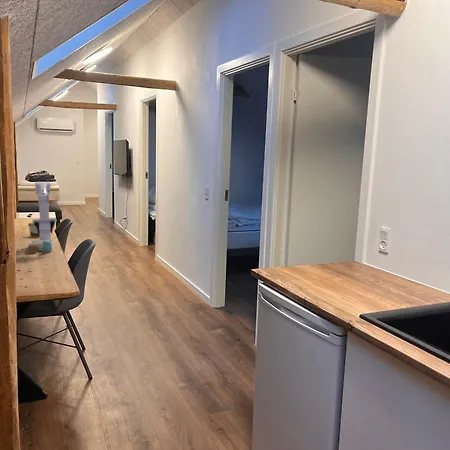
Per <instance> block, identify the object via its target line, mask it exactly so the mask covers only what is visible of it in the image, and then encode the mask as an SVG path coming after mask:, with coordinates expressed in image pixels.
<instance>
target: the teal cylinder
mask: <svg viewBox="0 0 450 450" xmlns="http://www.w3.org/2000/svg"><path fill="white" fill-rule="evenodd" d="M42 253H44V254H49V253H52V251H51V241H43V251H42Z"/></svg>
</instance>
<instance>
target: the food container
mask: <svg viewBox="0 0 450 450" xmlns="http://www.w3.org/2000/svg"><path fill="white" fill-rule="evenodd" d="M27 224H28V225H27V226H28V228H29V234H30V237H35V236H40V234H38V231H37V228H36V226H35V224H34V223H33V222H29V223H27Z"/></svg>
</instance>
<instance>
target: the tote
mask: <svg viewBox="0 0 450 450" xmlns="http://www.w3.org/2000/svg"><path fill="white" fill-rule="evenodd" d="M43 241H51V252H52V251H53V250H54V248H55V239H51V240H40V239H32V240H31V241H30V242H29V243H28V245H29V244H38V252H43Z"/></svg>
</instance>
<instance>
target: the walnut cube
mask: <svg viewBox="0 0 450 450" xmlns="http://www.w3.org/2000/svg"><path fill="white" fill-rule="evenodd" d="M27 249H28V252H27V253H28V254H38V252H39V251H38V244H29V243H28V247H27Z"/></svg>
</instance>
